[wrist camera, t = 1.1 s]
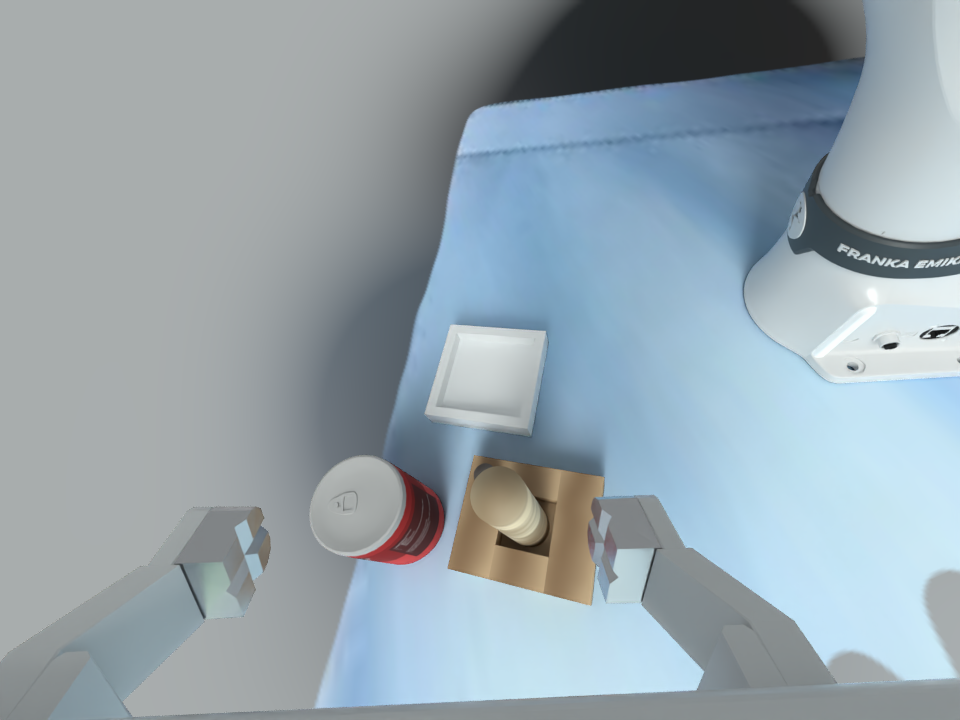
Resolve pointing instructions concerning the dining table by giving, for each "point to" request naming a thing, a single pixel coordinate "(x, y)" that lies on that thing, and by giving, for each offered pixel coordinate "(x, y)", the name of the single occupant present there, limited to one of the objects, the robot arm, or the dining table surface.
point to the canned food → (375, 512)
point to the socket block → (554, 562)
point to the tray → (489, 379)
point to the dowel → (509, 506)
